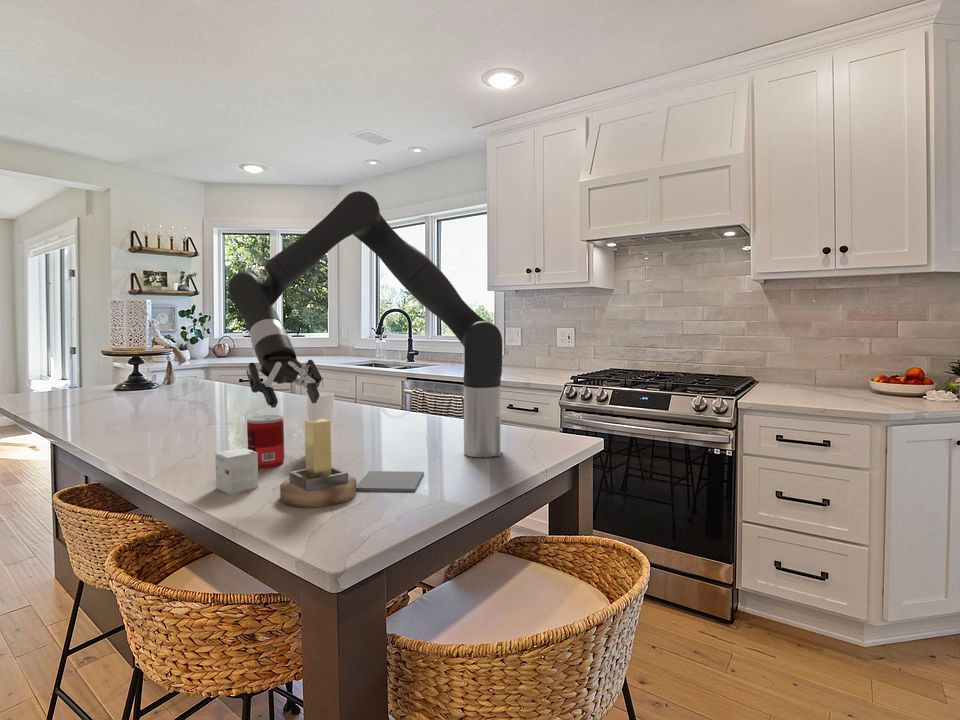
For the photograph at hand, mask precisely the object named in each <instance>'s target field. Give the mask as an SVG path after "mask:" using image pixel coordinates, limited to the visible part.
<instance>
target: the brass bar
mask: <svg viewBox="0 0 960 720" xmlns="http://www.w3.org/2000/svg"><path fill="white" fill-rule="evenodd" d="M304 444H305V445H304V447H305V449H304V451H305V469H306V478H308V479H314V478H319V477H324V476H328V475H331V466H332V451H331V427H330V421H329V420H326V419H322V418H321V419H313V420H308V419H307V420H304Z"/></svg>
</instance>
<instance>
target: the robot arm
mask: <svg viewBox="0 0 960 720" xmlns="http://www.w3.org/2000/svg"><path fill="white" fill-rule="evenodd" d="M351 236H354V237H356V238H357V240H359V241H360V242H361V243H363V244H364V245H365V246H366V247H367V248H369V250H371V251H372V252H373V253H374V254H375V255H376V256H377V257H378V258H379V259H380V260H381V261H382V263H383V264H384V265H385V266H386V268H387V269H388V270H389V271H390V273H391V274H392V275H393V276H394V278H395V279H397V281H398V282H399V283H400V284H401V285H402V287H404V289H406V290H407V292H408V293H410V294H411V295H412V297H413V298H414V299H416V300H417V301H418V302H419V303H420V304H421V305H422V306H423V307H425V308H426V310H428V311H429V312H431V314H433V315H435V316H436V317H437V318H438V319H439V320H441V321H442V322H443V323H444V324H445V325H446V326H447V327H448V328H449V329H450V330H451V332H452V333H453V334H454V335H455V337H456V338H457V339H458V340H459V342H460V343H461V344H462V346H463V348H464V349H463V350H464V370H463V454H464V455H465V456H467V457H473V458H482V457H484V458H493V456H494V457H501V450H502V449H501V447H502V446H501V441H502V439H501V434H502V432H501V431H502V430H501V425H502V424H501V385H502V384H501V380H502V379H501V378H502V373H503V335H502V333H501V331H500V330H499V328H498V327H497V326H496V325H495V324H493V323H491V322H490V321H486V320H485V319H484V318H482V317H481V316H480V315H479V314H477V313H476V311H474V309H472V308H471V307H470V306H469V305H468V304H467V303H466V302H465V301H464V300H463V298H462V297H461V295H460V294H459V292H458V291H457V290H456V288H455V286H454V285H453V284H452V282H451V281H450V280H449V279H448V277H447V276H446V275H445V274H444V273H443V271H442V270H441V269H440V268H439V267H438V266H437V265H436V264H435V263H434V262H433V261H432V260H431V259H430V258H429V257H428V256H427V255H425V254H424V253H423V252H422V251H420V250H419V249H418V248H417V247H416V246H413V245H412V244H411V243H409V242H408V241H407V240H405V239H404V238H402V237H401V236H400V235H399V234H398V233H397V232H396V230H394V229H393V228H392V227H391V226H390V224H389V223H388V222H387V220H386V219H385V218H384V216H382V214H381V212H380V207H379V203H378V201H377V199H376V197H374V196H373V195H372V194H371V193H369V192H366V191H363V190H355V191H353V192H349V194H347V195H346V196H345V197H344V198H343V199H342V200H341V201H340V202H339V203H338V204H337V205H336V206H335V207H334V208H333V209H331V211H330V212H329V213H328V214H327V215H326V216H325V217H324V218H323V219H322V220H321V221H319V222H318V223H317V224H316V225H314V227H313V228H311V229H310V230H308V232H306V233H305V234H303V235H302V236H301V237H299V238H298V239H296V240H295V241H294V242H292V243H291V244H289V245H288V246H286V247H285V248H283V250H281V251H279V252H278V253H277V254H275V255H274V256H273V257H271V258H270V259H269V260H267V261H266V263H265V270H266V271H267V274H268V276H267V277H266V279H264V281H263V282H262V281H261V280H260V279H259V277H257V276H256V275H255V274H254V273H252V272H249V271H238V272H237V273H235V274H234V275H233V276H232V277H231V278H230V280H229V283H228V287H227V288H228V289H227V290H228V294H229V296H230V299H231V301H232V302H233V304H234V306H235V307H236V309H237V311H238V312H239V314H240V315H241V317H242V318H243V320H244V322H245V326H246V328H247V331H248V334H249V336H250V337H249V338H250V342H251V346H252V348H253V351H254V353H255V355H256V358H257V360H258V361H257V362H258V363H259V365H258V364H257V365H256V364H255V362H250V363H249V364H248V366H247V370H246V375H247V379H248V383H249V385H250V386H249V387H250V389H251V392H252V393H256V394H257V393H261V394H263V397H264V400H265V402H266V404H267V405H268V406H270V407H271V409H272V408H276V407H277V405H278V404H279V403H278V397H277V395H276V392H275V390H274V388H273V385H274V383H277V384H279V385H280V384H281V385H282V384H285V383H286V384H292V383H294V384H295V385H297V386H299V387H300V386H301V387H302V388H304V389H306V394H308V395H309V398H310V400H311V402H312V404H313V403H316V402H317V400H318V398H319V392H320V391H319V390H318V388H319V387H320V384H321V382H322V380H323V377H322V375H321V373H320V371H319V370H318V368H317V365H316V364H315V361H314V360H312V359H308V360H307V362H300V361H299V360H298V358H297V355H296V351H295V349H294V347H293V345H292V342H291V340H290V338H289V335H288V333H287V331H286V329H285V327H284V326H283V324H282V321H281V319H280V317H279V314H278V313H277V311H276V310H275V308H274V306H273V305H274V304H275V303H276V302H277V301H278V299H279V298H280V297H281V296H282V294H284V292H285V290H286V289H287V288H288V287H289V285H291V284H292V283H294V282H296V281H297V280H298V279H300V277H302V276H304V275H305V274H306V273H308V272H309V270H311V269H312V268H313V267H314V266H315V265H316V264H318V263H319V262H320V260H321V259H323V258H324V256H325V255H326V254H327V253H329V251H331V250H332V249H333V248H335V247H336V245H338V244H339V243H341V242H342V241H343V240H345V239H346V238H348V237H351ZM260 373H261V374H263V375H264V376H265V377H267V378H266V381H264V382H261V378H260ZM298 376H299V378H298Z"/></svg>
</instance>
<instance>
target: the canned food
mask: <svg viewBox="0 0 960 720" xmlns="http://www.w3.org/2000/svg"><path fill="white" fill-rule="evenodd" d="M284 427H285V425H284V416H283V415H280V414H265V415H263V414H261V415H256V416H254V415H253V416H250V417H248V418H247V419H246V436H247V449H248V450H252V451H254V452H257V453H258V469H268V468H274V467H279V466H281V465H283V463H284V461H285V433H284V431H285V428H284Z"/></svg>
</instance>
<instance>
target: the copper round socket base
mask: <svg viewBox="0 0 960 720" xmlns="http://www.w3.org/2000/svg"><path fill="white" fill-rule="evenodd" d="M288 473H289V475H288V476H289V478H288V479H286V480H284V481H283V482H281V483H280V484H279V485H280V486H279V491H280V492H279V497H280V502H281V503H282V504H283V505H286V506H289V507H293V508H302V509H303V508H304V509H307V508H308V509H313V507H317V508H324V507H323V506H326V507H330V506H331V505H332V506H335V504H336V505H339V504H338V503H340V504H342V503H341V502H343V503H345V502H344V501H346V502H348V501H350V500H352V499H354V497H356V495H357V492H358V491H356V485H357V478H356V477H355V476H354V475H351V474H349V472H348V471H345V470H343V469H341V468H338V467H336V466H333V465H331V475H328V476H324V477H319V478H314V479H308V478H306V468H303V469H299V470H293V471H289V472H288ZM351 498H352V499H351ZM349 499H350V500H349ZM347 500H348V501H347Z"/></svg>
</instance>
